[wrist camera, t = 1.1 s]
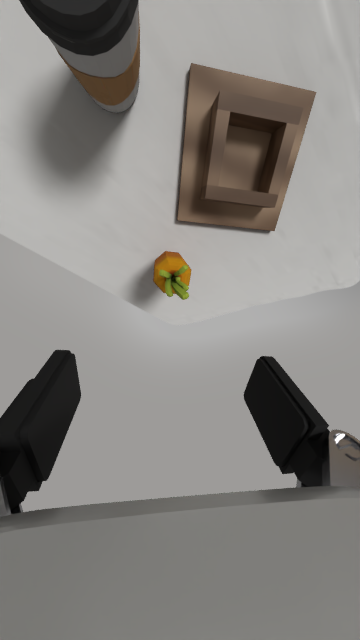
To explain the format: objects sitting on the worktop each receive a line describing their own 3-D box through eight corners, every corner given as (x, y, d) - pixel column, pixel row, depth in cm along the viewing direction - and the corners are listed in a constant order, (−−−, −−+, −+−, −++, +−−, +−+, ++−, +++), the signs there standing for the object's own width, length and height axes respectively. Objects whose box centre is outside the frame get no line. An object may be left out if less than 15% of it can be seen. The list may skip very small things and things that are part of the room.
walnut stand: (189, 68, 23) (196, 39, 19) (310, 96, 25) (339, 75, 22) (176, 220, 31) (180, 221, 27) (271, 230, 33) (286, 233, 29)
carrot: (148, 248, 32) (144, 273, 19) (177, 239, 32) (193, 258, 19) (158, 276, 35) (160, 315, 22) (185, 268, 35) (203, 303, 21)
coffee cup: (150, 33, 22) (143, -241, 9) (145, 132, 25) (134, 49, 12) (69, 6, 20) (-89, -370, 7) (76, 116, 24) (-17, 3, 11)
